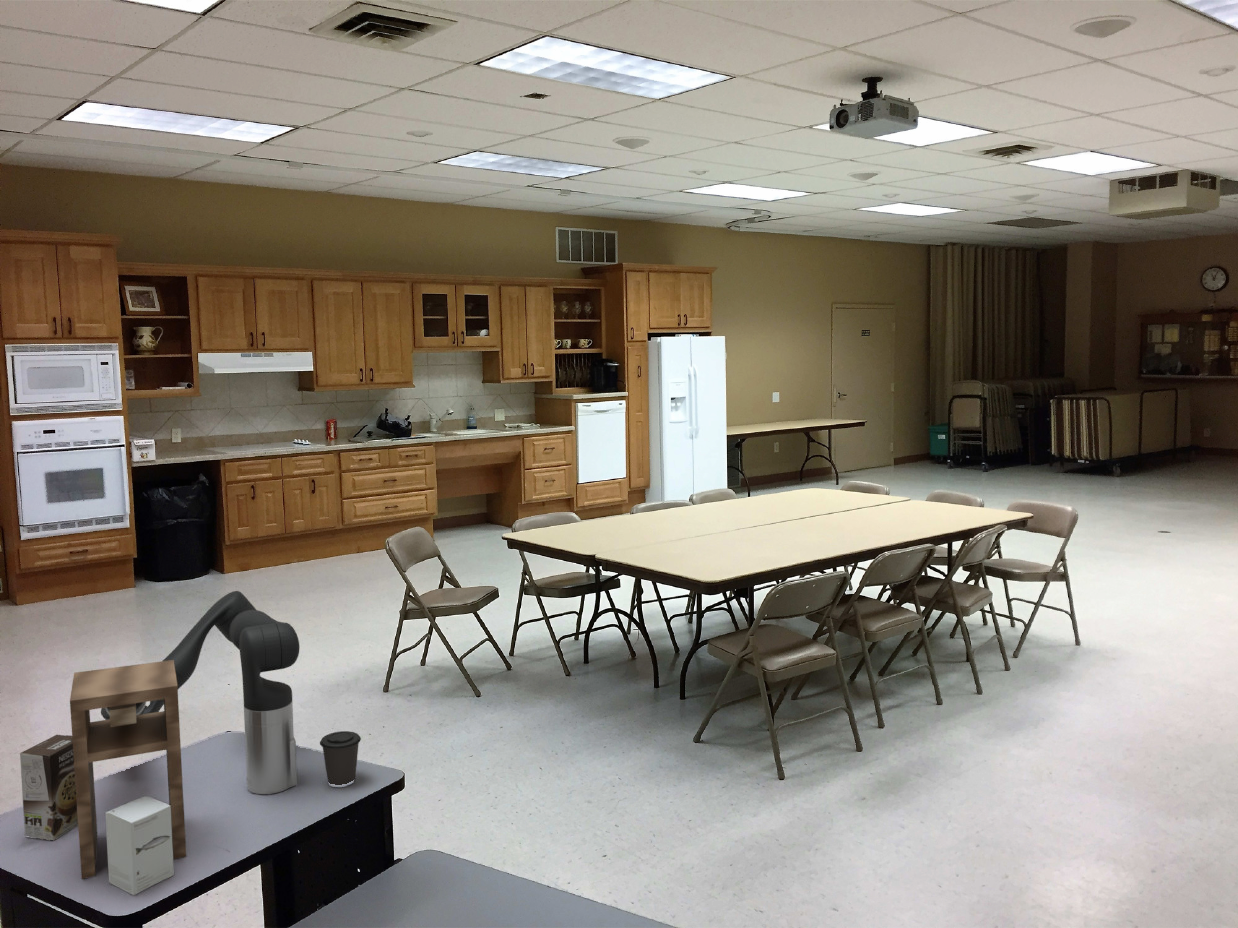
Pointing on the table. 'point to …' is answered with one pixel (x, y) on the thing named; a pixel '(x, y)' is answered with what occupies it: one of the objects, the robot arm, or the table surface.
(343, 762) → the coffee cup
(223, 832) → the table surface
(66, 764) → the coffee box
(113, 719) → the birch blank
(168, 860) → the supplement box
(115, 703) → the walnut rack
